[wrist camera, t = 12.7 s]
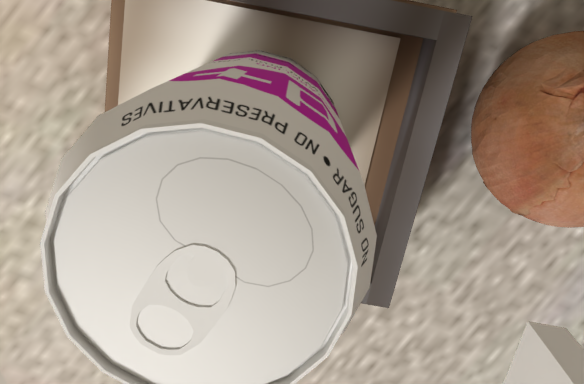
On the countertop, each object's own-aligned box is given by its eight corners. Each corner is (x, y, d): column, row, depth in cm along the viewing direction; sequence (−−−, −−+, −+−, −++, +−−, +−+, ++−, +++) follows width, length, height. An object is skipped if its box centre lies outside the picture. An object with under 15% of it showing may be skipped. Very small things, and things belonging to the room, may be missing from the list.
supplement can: (230, 14, 23) (119, 4, 9) (371, 113, 25) (464, 238, 11) (147, 153, 26) (-46, 317, 11) (280, 237, 27) (256, 476, 13)
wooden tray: (435, 11, 27) (474, 8, 21) (371, 256, 32) (387, 313, 26) (141, -47, 26) (93, -68, 20) (121, 212, 31) (77, 259, 25)
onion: (503, 47, 30) (598, -57, 21) (638, 134, 30) (805, 71, 20) (414, 170, 30) (469, 125, 20) (551, 265, 29) (680, 268, 19)
